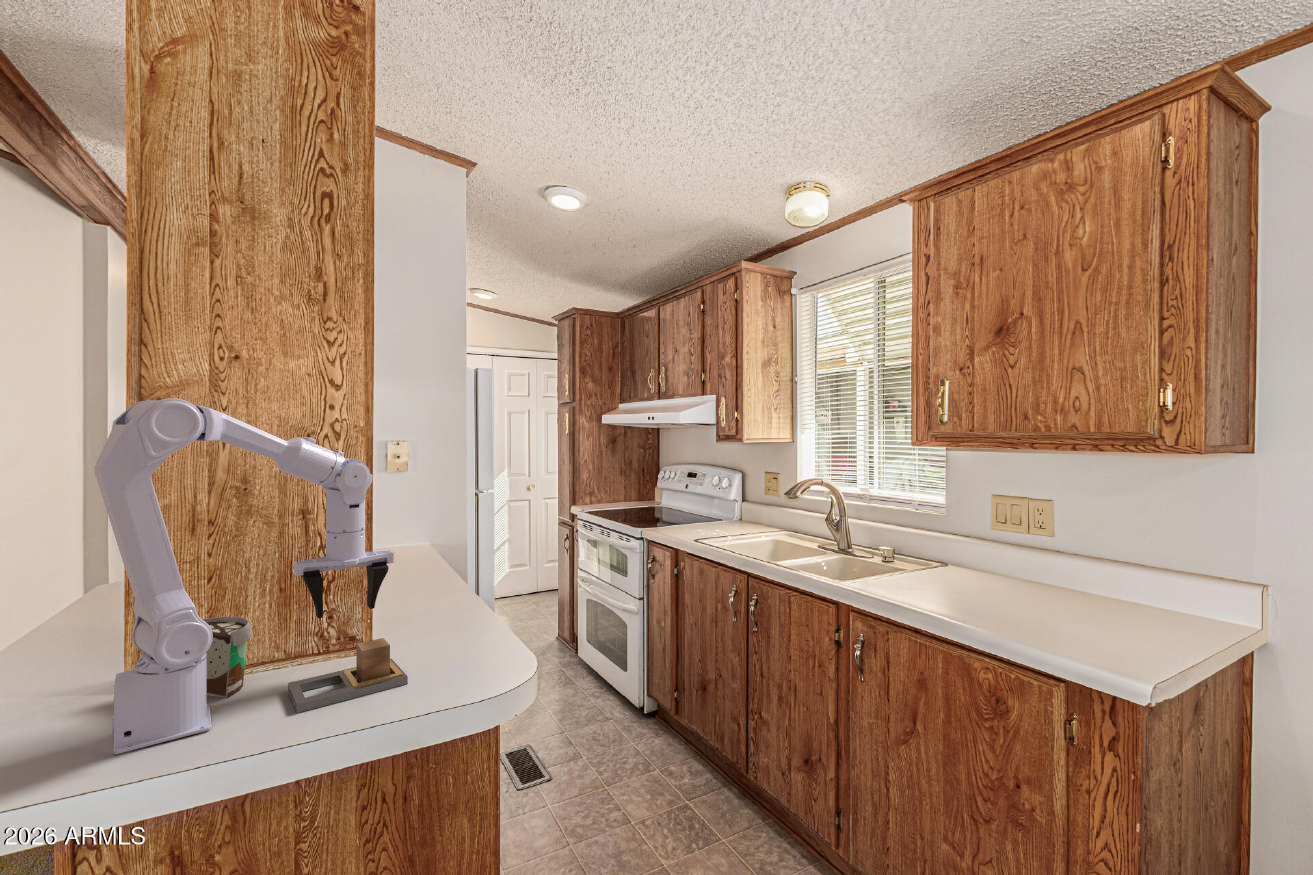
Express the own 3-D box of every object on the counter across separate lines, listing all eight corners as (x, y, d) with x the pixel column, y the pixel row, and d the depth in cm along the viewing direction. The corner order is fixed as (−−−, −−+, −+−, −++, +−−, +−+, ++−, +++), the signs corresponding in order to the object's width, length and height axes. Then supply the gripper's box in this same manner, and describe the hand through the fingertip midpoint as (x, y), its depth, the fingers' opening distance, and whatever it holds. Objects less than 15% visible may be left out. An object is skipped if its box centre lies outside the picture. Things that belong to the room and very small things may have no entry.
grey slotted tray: (296, 713, 81) (296, 703, 81) (287, 690, 88) (287, 681, 88) (407, 683, 91) (407, 674, 91) (391, 665, 97) (391, 657, 97)
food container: (272, 682, 91) (272, 619, 91) (234, 699, 85) (234, 632, 85) (213, 672, 94) (213, 612, 94) (173, 688, 88) (173, 624, 88)
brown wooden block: (362, 689, 89) (362, 651, 88) (356, 680, 92) (356, 643, 92) (390, 682, 91) (390, 644, 91) (383, 674, 94) (383, 637, 94)
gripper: (298, 538, 87) (298, 627, 87) (398, 528, 97) (398, 609, 97) (291, 532, 93) (291, 615, 93) (387, 523, 102) (387, 599, 102)
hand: (345, 611), depth 95 cm, fingers open, 7 cm apart
